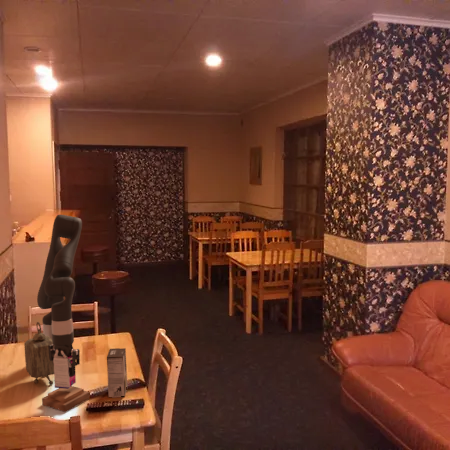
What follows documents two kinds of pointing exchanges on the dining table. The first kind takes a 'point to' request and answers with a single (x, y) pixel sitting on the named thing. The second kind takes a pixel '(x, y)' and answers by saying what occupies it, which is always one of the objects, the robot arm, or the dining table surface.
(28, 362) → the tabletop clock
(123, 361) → the coffee box
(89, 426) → the dining table surface
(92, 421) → the dining table surface
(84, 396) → the walnut base
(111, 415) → the dining table surface
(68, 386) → the supplement box
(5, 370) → the dining table surface
